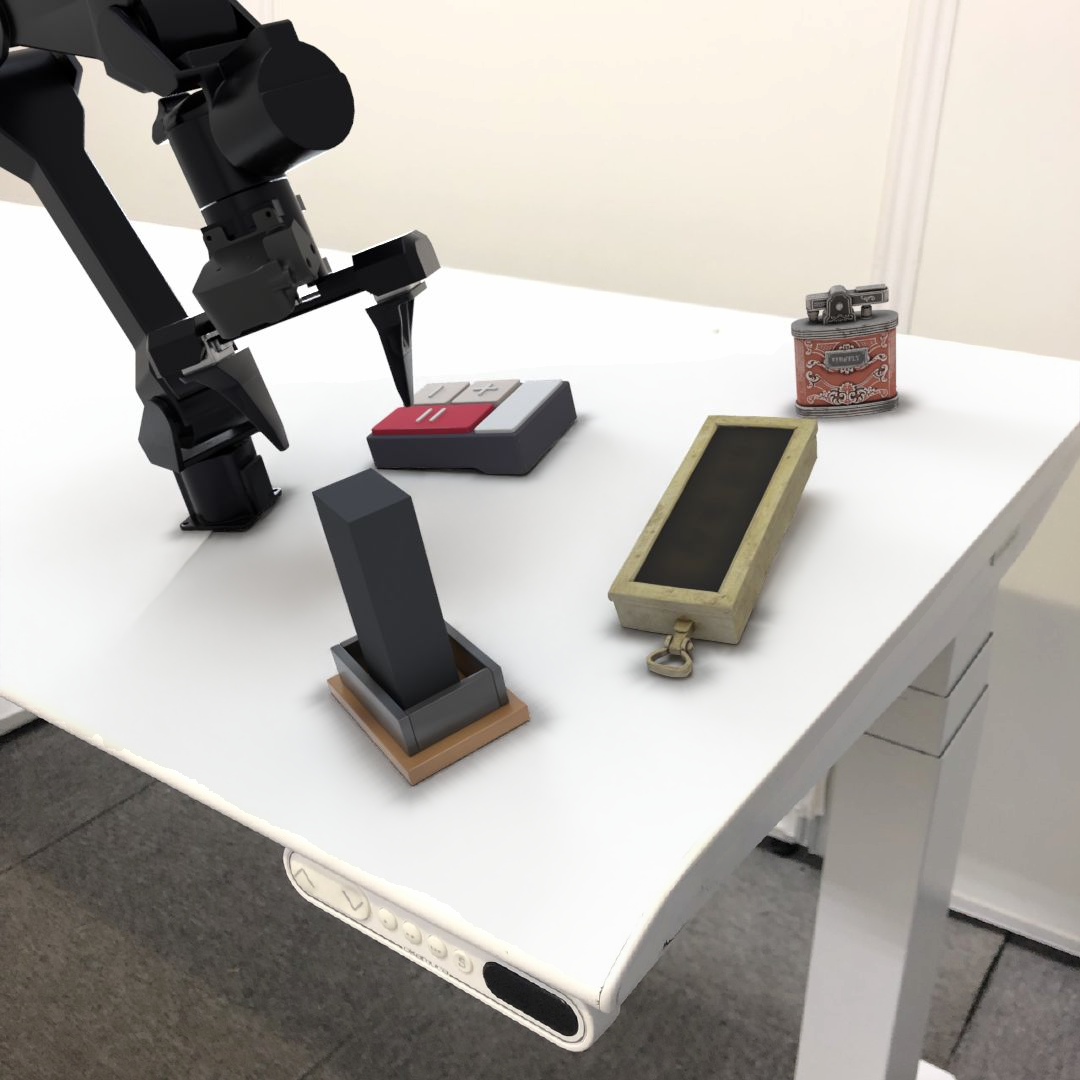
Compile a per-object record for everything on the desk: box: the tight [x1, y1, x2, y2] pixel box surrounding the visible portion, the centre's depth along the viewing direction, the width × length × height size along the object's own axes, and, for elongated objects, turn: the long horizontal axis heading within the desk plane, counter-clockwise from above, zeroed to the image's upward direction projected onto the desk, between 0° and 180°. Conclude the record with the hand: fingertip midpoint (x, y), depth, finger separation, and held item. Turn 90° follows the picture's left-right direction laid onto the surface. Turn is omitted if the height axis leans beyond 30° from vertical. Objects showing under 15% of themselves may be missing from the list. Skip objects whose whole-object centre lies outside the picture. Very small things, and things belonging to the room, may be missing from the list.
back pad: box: [311, 467, 460, 712], centre depth 56 cm, size 5×4×13 cm
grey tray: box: [326, 619, 531, 786], centre depth 59 cm, size 11×8×4 cm
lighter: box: [790, 283, 899, 419], centre depth 82 cm, size 8×3×10 cm, turn 80°
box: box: [607, 414, 819, 678], centre depth 65 cm, size 8×22×5 cm, turn 153°
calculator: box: [365, 378, 578, 475], centre depth 90 cm, size 11×4×15 cm
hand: (346, 428), depth 68 cm, fingers open, 9 cm apart
